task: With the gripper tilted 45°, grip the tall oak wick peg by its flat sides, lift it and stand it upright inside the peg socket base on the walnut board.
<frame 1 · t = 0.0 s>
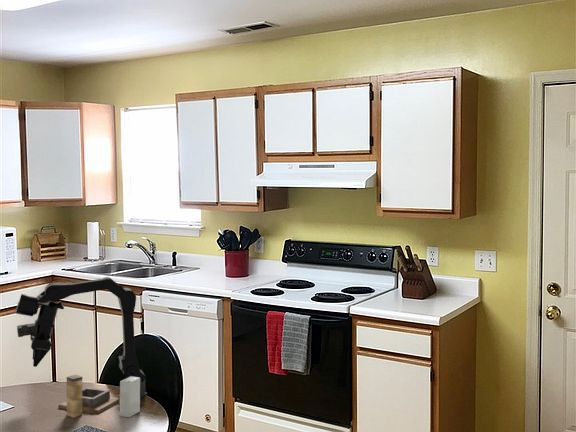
hand: (34, 362, 226), 15 cm above the table, tool pointing down, fingers open, 9 cm apart
oak wick peg: (74, 414, 219), on the table
peg socket base: (89, 404, 229), on the table
skincare box: (129, 414, 221), on the table
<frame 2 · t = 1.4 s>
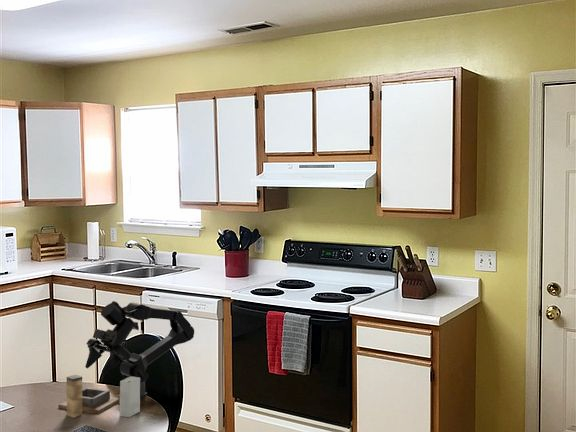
hand: (94, 370, 225), 13 cm above the table, tool tilted 45°, fingers open, 9 cm apart
nothing on the table moved.
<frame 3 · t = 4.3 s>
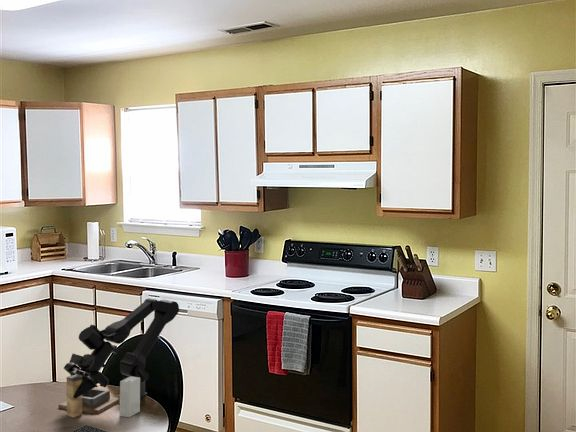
hand: (70, 396, 218), 7 cm above the table, tool tilted 45°, fingers closed on oak wick peg, 4 cm apart
oak wick peg: (74, 414, 219), on the table, touching gripper
everything else where it was.
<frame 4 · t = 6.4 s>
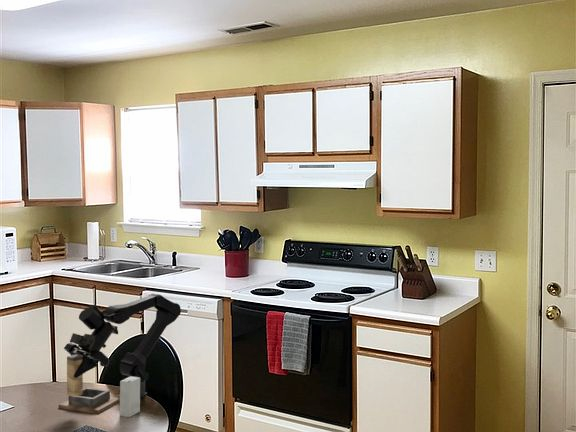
hand: (71, 376, 218), 13 cm above the table, tool tilted 45°, fingers closed on oak wick peg, 4 cm apart
oak wick peg: (74, 394, 219), point 7 cm above the table, touching gripper
everything else where it was.
when the fingers open (9 cm above the table, at t = 8.7 s): oak wick peg stays where it is, resting on peg socket base.
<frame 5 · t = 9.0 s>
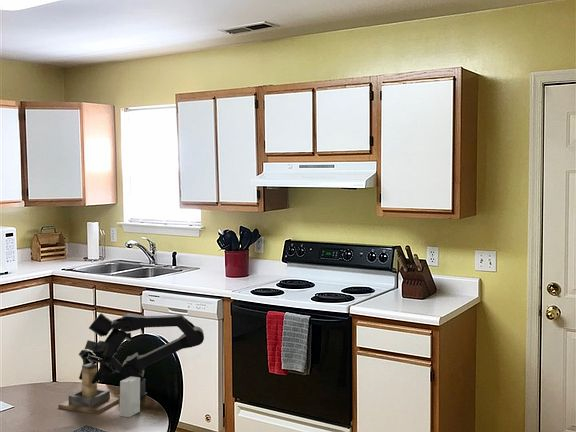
hand: (86, 381, 228), 9 cm above the table, tool tilted 45°, fingers open, 7 cm apart
oak wick peg: (89, 401, 229), point 1 cm above the table, touching peg socket base
everything else where it was.
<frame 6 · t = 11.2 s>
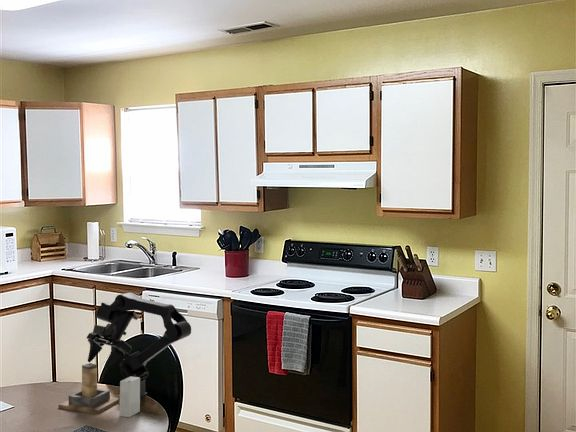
hand: (96, 364, 232), 13 cm above the table, tool tilted 40°, fingers open, 9 cm apart
nothing on the table moved.
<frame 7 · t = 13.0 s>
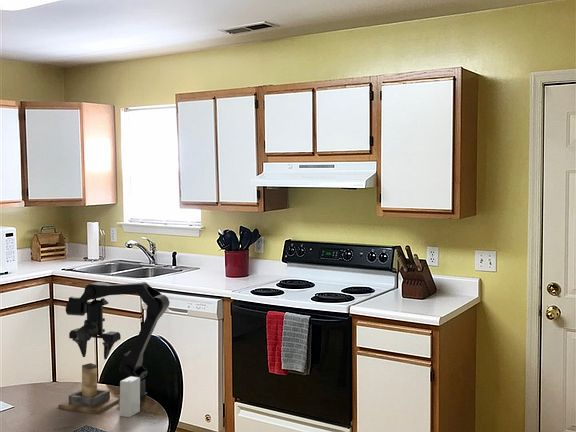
hand: (94, 358, 242), 13 cm above the table, tool pointing down, fingers open, 9 cm apart
nothing on the table moved.
at the end: oak wick peg 0.1 cm off-centre on the peg socket base, point 1.2 cm above the peg socket base's base; oak wick peg tilted 0°; the gripper is holding nothing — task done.
